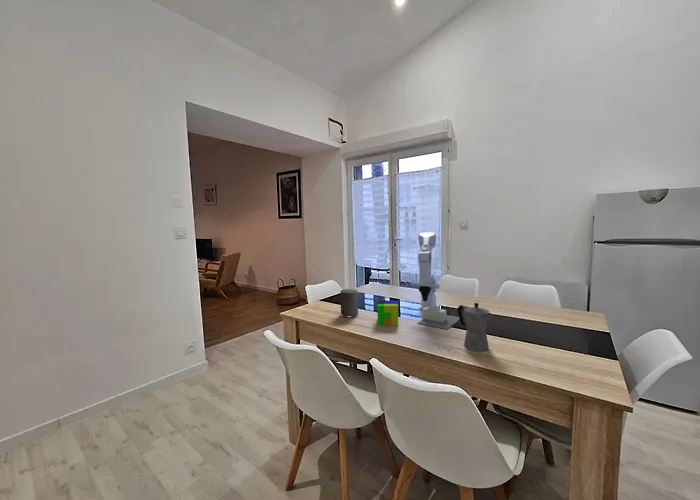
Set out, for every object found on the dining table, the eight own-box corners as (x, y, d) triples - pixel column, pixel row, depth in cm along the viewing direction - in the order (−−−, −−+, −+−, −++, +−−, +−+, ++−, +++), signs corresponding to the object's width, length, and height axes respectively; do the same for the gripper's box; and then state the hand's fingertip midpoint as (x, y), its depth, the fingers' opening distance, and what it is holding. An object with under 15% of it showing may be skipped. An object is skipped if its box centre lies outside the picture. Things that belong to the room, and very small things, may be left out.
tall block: (426, 306, 160) (446, 309, 154) (426, 316, 161) (446, 319, 154) (422, 308, 157) (442, 312, 150) (422, 318, 157) (442, 322, 150)
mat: (434, 313, 166) (434, 312, 166) (461, 318, 157) (461, 317, 157) (417, 323, 151) (417, 323, 151) (447, 329, 141) (447, 328, 141)
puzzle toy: (397, 319, 159) (396, 300, 158) (398, 325, 149) (397, 305, 148) (378, 319, 160) (377, 300, 159) (377, 325, 150) (377, 305, 149)
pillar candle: (338, 317, 165) (337, 290, 164) (344, 311, 175) (343, 286, 173) (355, 318, 163) (355, 290, 161) (360, 312, 172) (359, 286, 170)
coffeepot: (498, 349, 118) (499, 304, 117) (484, 356, 113) (484, 308, 112) (464, 337, 131) (464, 296, 130) (450, 343, 126) (450, 300, 124)
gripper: (408, 274, 158) (409, 300, 159) (435, 277, 149) (435, 304, 150) (414, 272, 163) (415, 297, 165) (441, 275, 154) (441, 301, 156)
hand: (425, 300), depth 158 cm, fingers closed
